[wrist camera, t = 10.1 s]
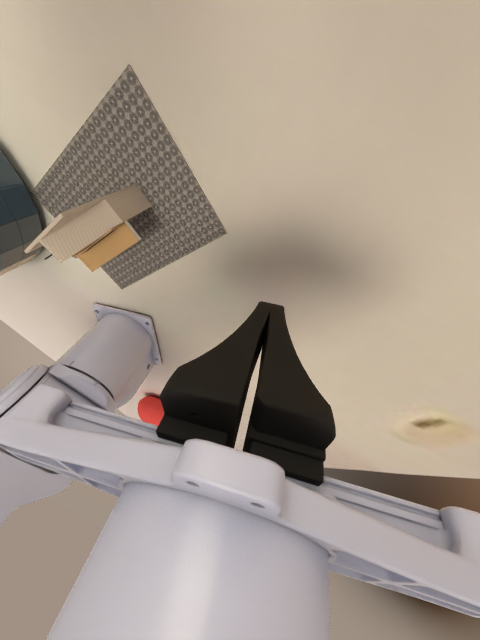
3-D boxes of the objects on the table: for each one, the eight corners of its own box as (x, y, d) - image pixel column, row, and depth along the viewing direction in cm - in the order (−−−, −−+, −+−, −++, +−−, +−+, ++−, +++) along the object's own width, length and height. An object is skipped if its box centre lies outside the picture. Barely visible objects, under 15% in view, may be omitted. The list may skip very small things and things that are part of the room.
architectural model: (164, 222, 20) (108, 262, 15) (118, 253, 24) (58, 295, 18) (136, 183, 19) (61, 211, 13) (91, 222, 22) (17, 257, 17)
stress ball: (168, 384, 42) (134, 407, 38) (194, 425, 42) (164, 452, 39) (161, 383, 46) (130, 405, 42) (185, 421, 47) (157, 445, 43)
